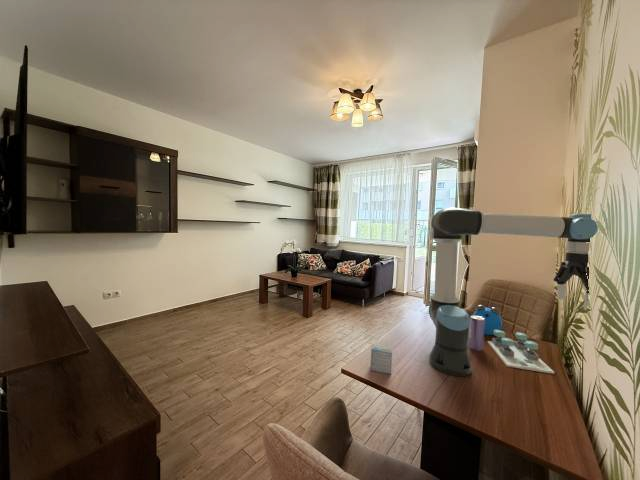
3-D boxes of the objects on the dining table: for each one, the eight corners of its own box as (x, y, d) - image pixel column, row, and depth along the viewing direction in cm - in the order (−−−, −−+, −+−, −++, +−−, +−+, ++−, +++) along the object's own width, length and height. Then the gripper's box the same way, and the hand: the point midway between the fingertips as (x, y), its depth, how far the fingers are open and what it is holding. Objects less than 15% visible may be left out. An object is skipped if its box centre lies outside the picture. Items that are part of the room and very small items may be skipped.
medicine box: (391, 368, 100) (392, 347, 100) (391, 374, 96) (392, 352, 95) (371, 364, 102) (371, 344, 102) (370, 370, 98) (371, 349, 98)
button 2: (527, 353, 108) (528, 344, 108) (522, 348, 113) (523, 340, 112) (539, 355, 107) (540, 346, 107) (534, 350, 112) (535, 341, 111)
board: (507, 366, 104) (507, 359, 104) (487, 342, 125) (488, 336, 125) (554, 373, 100) (554, 366, 99) (525, 347, 121) (526, 341, 121)
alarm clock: (500, 334, 134) (503, 307, 133) (500, 338, 129) (502, 310, 128) (472, 328, 142) (474, 301, 141) (471, 331, 137) (473, 304, 136)
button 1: (503, 350, 111) (504, 341, 111) (499, 345, 115) (499, 337, 115) (515, 351, 110) (515, 342, 109) (510, 347, 114) (511, 338, 114)
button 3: (495, 341, 120) (495, 332, 119) (491, 337, 124) (492, 329, 123) (506, 342, 118) (506, 334, 118) (502, 338, 123) (502, 330, 122)
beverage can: (484, 352, 115) (487, 320, 114) (470, 350, 116) (473, 319, 115) (479, 346, 121) (481, 315, 120) (465, 344, 122) (468, 314, 121)
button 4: (517, 344, 117) (518, 335, 117) (513, 339, 121) (513, 331, 121) (528, 345, 116) (529, 337, 116) (523, 341, 120) (524, 333, 120)
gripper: (621, 257, 89) (614, 316, 90) (565, 249, 113) (560, 296, 115) (596, 256, 90) (590, 314, 91) (546, 248, 114) (541, 294, 116)
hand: (573, 304), depth 103 cm, fingers open, 13 cm apart
